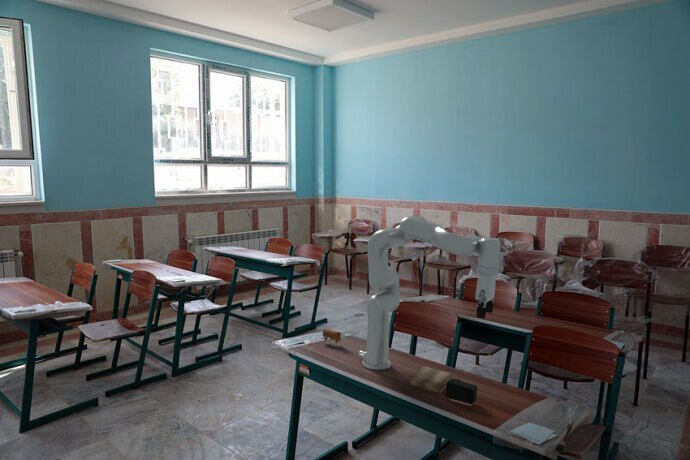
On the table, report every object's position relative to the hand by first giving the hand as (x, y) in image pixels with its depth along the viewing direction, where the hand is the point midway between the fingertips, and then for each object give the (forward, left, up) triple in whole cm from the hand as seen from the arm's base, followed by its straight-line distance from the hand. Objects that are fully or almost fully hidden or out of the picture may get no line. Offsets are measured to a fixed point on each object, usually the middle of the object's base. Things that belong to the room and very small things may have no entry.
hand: (484, 314), depth 187 cm
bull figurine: (-73, +9, -31) cm, 80 cm away
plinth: (-18, -4, -31) cm, 36 cm away
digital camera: (-3, -11, -31) cm, 33 cm away
